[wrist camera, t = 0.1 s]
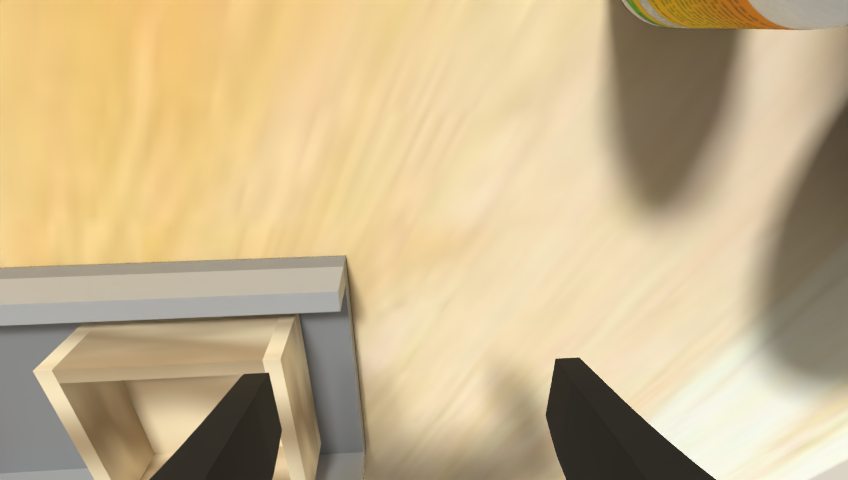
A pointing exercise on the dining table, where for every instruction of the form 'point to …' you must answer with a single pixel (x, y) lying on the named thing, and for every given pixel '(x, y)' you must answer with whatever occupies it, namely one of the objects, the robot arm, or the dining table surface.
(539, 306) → the dining table surface
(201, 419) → the crate
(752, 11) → the supplement bottle
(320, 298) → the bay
